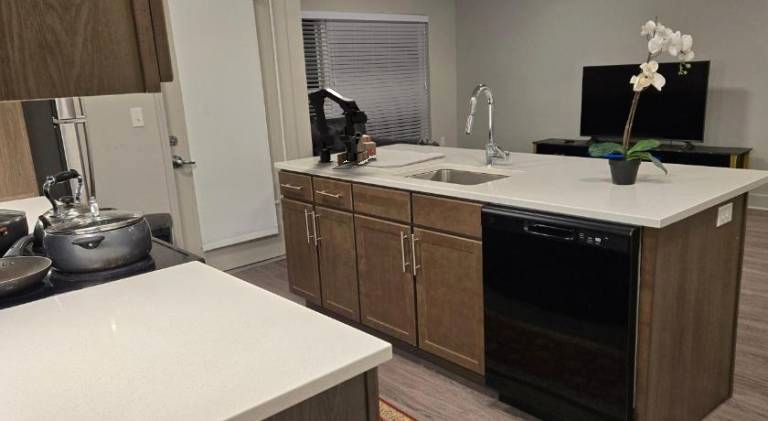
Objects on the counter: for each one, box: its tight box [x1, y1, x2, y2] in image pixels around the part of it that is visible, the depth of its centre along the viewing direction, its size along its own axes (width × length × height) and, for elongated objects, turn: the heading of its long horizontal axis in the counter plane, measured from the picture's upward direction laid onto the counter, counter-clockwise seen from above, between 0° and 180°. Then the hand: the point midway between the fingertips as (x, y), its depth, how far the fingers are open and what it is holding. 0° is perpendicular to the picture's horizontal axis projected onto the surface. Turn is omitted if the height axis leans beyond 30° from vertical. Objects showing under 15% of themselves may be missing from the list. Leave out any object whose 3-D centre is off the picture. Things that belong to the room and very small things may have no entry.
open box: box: [336, 151, 369, 166], centre depth 316 cm, size 14×13×6 cm
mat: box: [332, 164, 356, 170], centre depth 306 cm, size 10×10×1 cm
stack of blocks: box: [358, 134, 377, 156], centre depth 338 cm, size 21×6×12 cm, turn 18°
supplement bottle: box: [344, 138, 358, 163], centre depth 314 cm, size 7×7×12 cm
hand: (351, 152), depth 314 cm, fingers closed on supplement bottle, 7 cm apart
